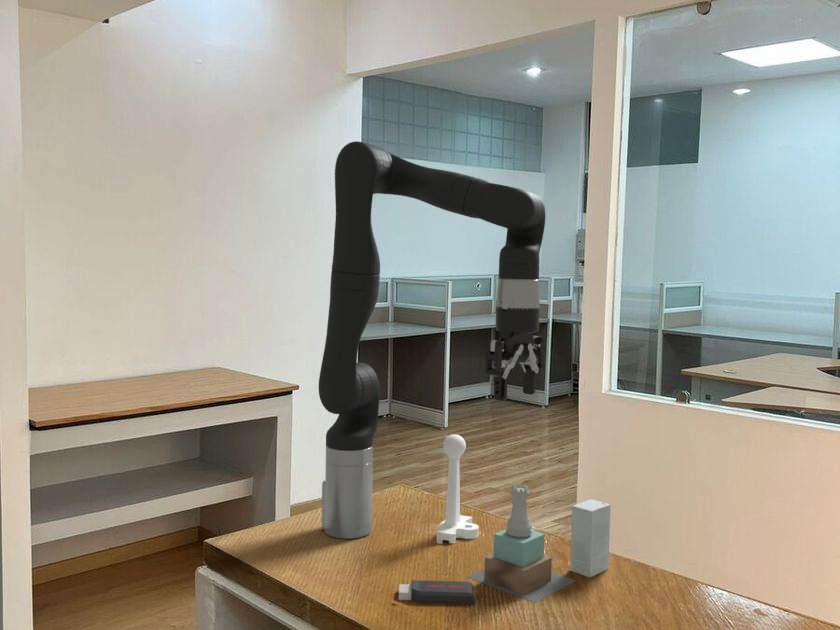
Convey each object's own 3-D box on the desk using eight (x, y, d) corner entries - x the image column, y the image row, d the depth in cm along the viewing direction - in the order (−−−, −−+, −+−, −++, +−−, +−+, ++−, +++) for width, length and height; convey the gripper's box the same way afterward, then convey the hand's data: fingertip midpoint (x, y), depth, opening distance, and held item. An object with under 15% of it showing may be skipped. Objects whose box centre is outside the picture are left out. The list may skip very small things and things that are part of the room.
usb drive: (475, 609, 122) (475, 592, 121) (398, 607, 122) (398, 590, 121) (473, 595, 127) (473, 578, 127) (399, 593, 127) (399, 576, 127)
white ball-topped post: (451, 524, 159) (453, 427, 158) (486, 530, 156) (489, 431, 155) (431, 542, 149) (433, 439, 147) (468, 548, 146) (471, 443, 144)
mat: (466, 579, 132) (466, 576, 132) (508, 559, 141) (508, 557, 141) (535, 605, 123) (535, 602, 123) (575, 583, 131) (575, 580, 131)
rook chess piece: (531, 539, 128) (533, 492, 127) (504, 537, 129) (505, 489, 128) (532, 530, 132) (534, 484, 132) (506, 528, 133) (507, 482, 132)
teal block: (493, 557, 130) (494, 533, 130) (514, 547, 135) (515, 525, 135) (522, 567, 126) (523, 543, 126) (543, 557, 131) (544, 534, 130)
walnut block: (484, 580, 131) (484, 557, 130) (512, 567, 137) (513, 544, 136) (523, 595, 125) (524, 570, 125) (551, 580, 131) (551, 557, 131)
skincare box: (588, 563, 140) (590, 498, 139) (609, 570, 137) (611, 504, 136) (568, 572, 136) (571, 505, 135) (589, 580, 133) (592, 511, 132)
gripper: (523, 302, 144) (521, 389, 145) (475, 305, 133) (472, 398, 134) (558, 305, 139) (555, 395, 140) (511, 307, 128) (508, 404, 129)
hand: (514, 396), depth 137 cm, fingers open, 8 cm apart
